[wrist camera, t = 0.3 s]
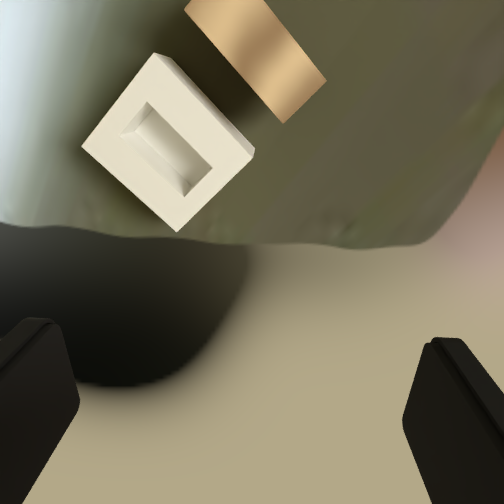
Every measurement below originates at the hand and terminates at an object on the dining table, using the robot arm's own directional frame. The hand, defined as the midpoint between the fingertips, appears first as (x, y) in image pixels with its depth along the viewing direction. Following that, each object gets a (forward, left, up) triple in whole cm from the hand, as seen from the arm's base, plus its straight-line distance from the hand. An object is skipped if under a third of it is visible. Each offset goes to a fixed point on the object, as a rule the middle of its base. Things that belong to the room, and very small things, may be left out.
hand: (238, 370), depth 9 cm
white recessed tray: (-7, -6, -35) cm, 36 cm away
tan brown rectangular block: (-7, +7, -35) cm, 36 cm away
